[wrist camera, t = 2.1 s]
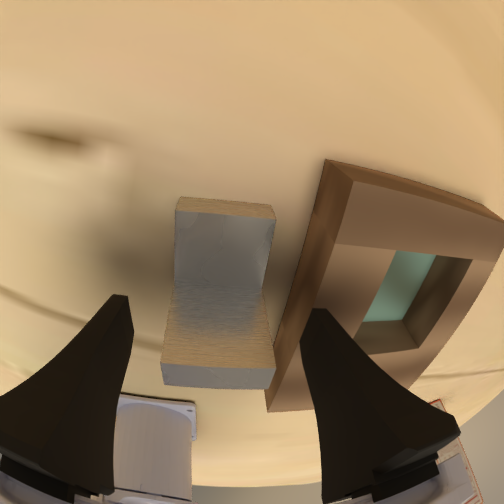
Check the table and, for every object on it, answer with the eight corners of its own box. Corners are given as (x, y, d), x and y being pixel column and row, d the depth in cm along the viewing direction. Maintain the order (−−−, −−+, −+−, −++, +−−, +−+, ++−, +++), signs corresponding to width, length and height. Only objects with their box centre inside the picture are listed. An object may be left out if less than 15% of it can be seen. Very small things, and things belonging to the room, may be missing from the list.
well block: (391, 367, 22) (403, 393, 19) (262, 378, 20) (267, 412, 17) (482, 205, 13) (512, 227, 11) (325, 159, 12) (353, 180, 9)
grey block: (253, 291, 15) (267, 389, 10) (178, 286, 14) (164, 384, 9) (270, 205, 13) (303, 292, 7) (180, 196, 12) (150, 282, 7)
